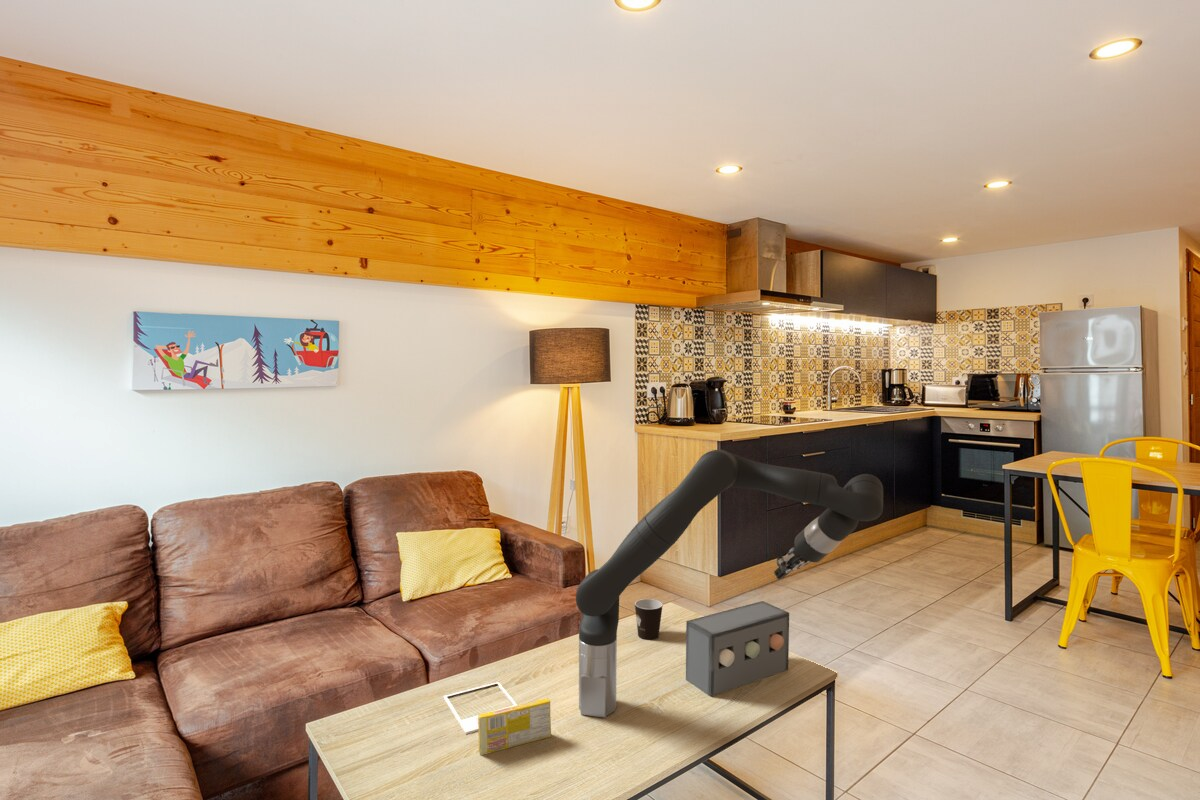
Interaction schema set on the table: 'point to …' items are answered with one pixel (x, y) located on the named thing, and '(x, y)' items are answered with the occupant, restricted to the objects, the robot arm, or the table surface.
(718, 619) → the console
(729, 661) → the cream button
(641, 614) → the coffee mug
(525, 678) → the table surface
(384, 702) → the table surface
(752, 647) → the sage button
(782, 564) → the robot arm
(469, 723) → the photo frame
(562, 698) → the table surface
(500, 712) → the candy box
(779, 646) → the terracotta button
